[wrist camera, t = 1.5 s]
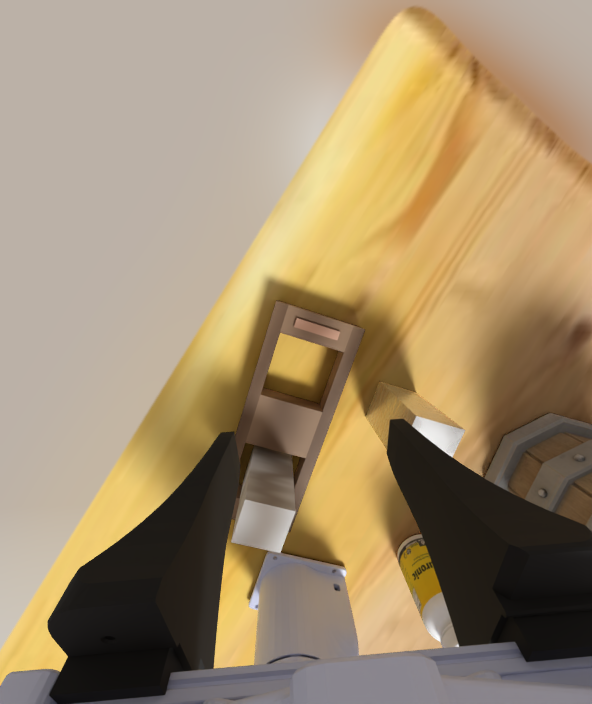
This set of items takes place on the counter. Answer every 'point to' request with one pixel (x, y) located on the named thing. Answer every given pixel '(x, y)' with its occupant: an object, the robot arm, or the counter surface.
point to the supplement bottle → (426, 590)
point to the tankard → (548, 466)
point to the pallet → (286, 429)
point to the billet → (412, 417)
